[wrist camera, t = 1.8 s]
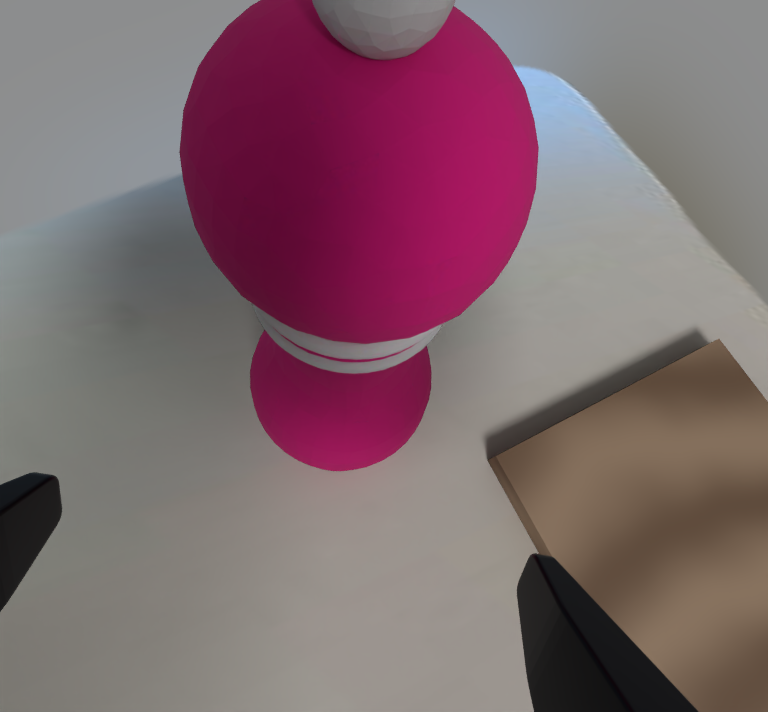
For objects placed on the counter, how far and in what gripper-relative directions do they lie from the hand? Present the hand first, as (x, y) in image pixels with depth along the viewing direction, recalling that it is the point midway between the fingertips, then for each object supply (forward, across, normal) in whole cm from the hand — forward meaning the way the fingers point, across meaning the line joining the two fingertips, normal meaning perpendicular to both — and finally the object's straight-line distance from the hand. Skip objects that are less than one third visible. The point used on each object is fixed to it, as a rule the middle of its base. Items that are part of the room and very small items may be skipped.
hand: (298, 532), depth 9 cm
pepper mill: (+13, 0, +5) cm, 14 cm away
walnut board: (+11, -18, +7) cm, 22 cm away
